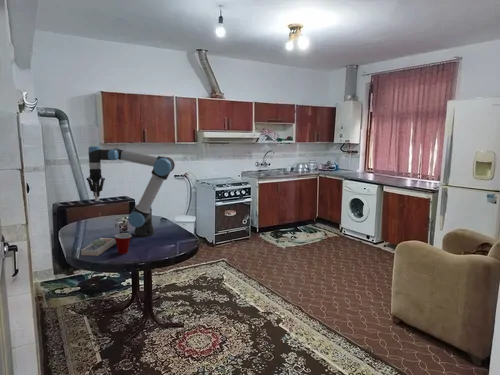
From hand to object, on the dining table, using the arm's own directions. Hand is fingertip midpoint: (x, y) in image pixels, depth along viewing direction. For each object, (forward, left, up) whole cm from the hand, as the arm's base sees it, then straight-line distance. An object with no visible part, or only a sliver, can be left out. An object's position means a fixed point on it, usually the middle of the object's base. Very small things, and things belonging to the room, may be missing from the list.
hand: (96, 200), depth 248 cm
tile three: (-11, +28, -27) cm, 40 cm away
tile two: (-11, +20, -25) cm, 34 cm away
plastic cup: (-30, +25, -29) cm, 48 cm away
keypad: (-11, +20, -28) cm, 36 cm away
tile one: (-11, +12, -27) cm, 32 cm away
